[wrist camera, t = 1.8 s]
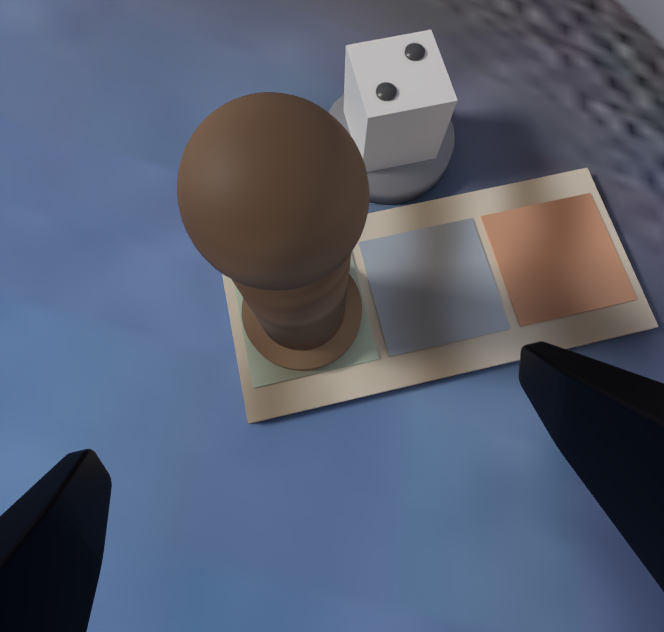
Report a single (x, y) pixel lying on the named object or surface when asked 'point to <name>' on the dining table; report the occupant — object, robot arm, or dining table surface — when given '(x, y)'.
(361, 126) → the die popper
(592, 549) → the dining table surface
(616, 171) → the dining table surface
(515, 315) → the board
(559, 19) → the dining table surface
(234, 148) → the pawn
